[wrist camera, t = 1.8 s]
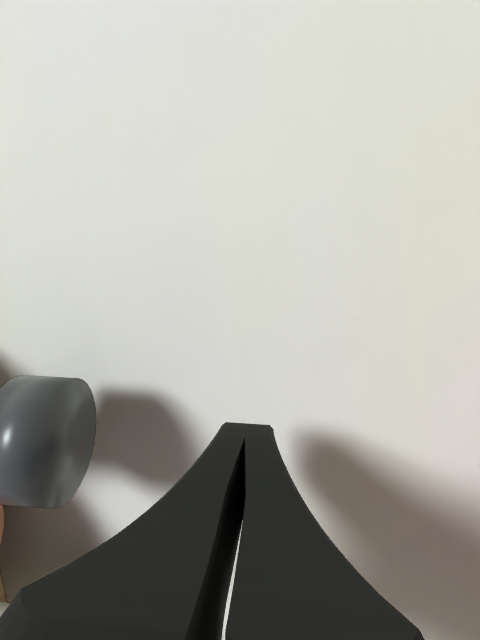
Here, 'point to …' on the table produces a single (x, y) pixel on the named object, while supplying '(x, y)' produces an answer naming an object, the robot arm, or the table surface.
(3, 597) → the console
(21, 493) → the knob
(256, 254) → the table surface
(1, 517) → the knob middle
